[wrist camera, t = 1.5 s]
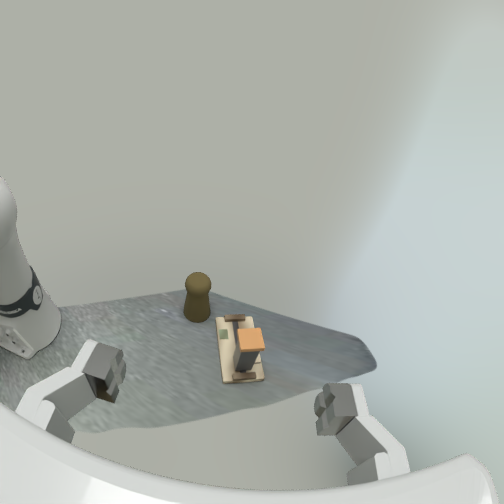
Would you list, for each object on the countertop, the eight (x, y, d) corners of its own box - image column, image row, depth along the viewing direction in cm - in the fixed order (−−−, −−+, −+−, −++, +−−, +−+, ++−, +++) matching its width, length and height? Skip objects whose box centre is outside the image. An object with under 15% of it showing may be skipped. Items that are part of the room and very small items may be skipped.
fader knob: (233, 372, 49) (240, 349, 42) (230, 354, 52) (237, 328, 45) (253, 371, 50) (264, 348, 43) (250, 353, 53) (260, 327, 46)
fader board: (223, 383, 48) (224, 379, 47) (215, 320, 59) (216, 314, 58) (263, 380, 50) (265, 376, 49) (251, 319, 61) (252, 314, 60)
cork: (182, 301, 61) (182, 268, 54) (208, 300, 63) (211, 266, 56) (184, 323, 57) (184, 291, 50) (212, 321, 59) (216, 289, 52)
